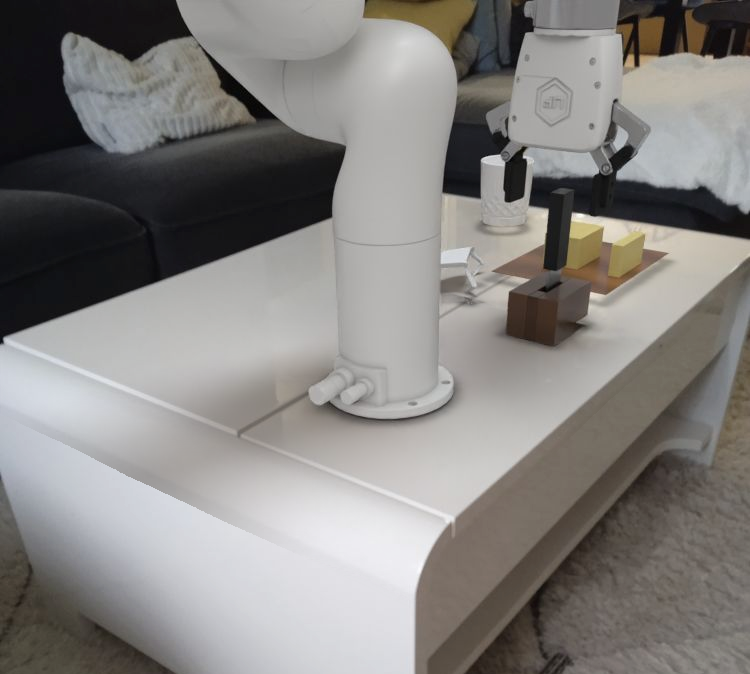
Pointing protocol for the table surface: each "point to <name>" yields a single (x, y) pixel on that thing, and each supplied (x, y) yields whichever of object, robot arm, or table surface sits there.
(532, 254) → the butter board
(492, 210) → the white cup
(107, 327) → the table surface
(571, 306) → the knife block
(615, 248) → the butter slice
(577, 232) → the butter block
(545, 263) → the knife
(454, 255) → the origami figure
